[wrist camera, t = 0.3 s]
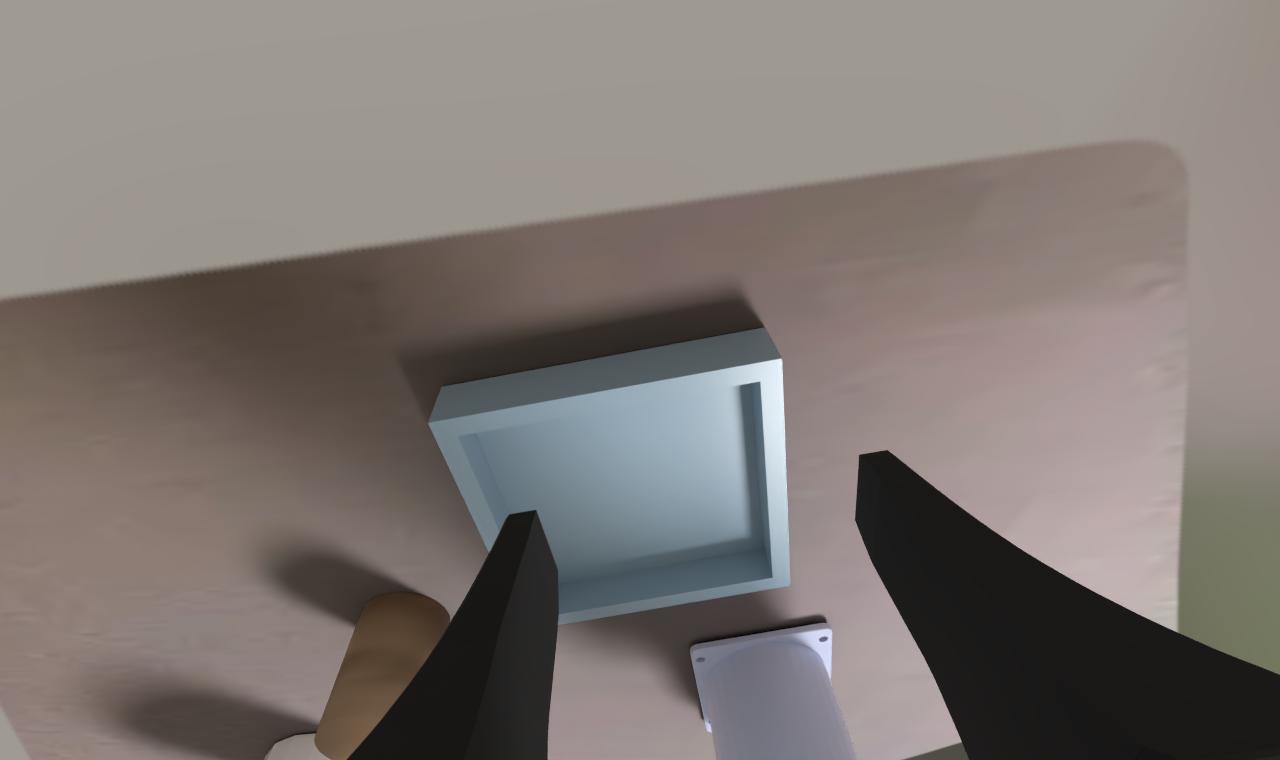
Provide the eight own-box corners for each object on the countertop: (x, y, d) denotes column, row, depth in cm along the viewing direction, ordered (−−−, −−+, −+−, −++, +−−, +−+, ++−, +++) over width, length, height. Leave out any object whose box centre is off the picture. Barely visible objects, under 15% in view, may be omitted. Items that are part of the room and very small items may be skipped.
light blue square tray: (776, 546, 29) (790, 585, 27) (529, 589, 29) (525, 631, 27) (765, 327, 22) (781, 358, 20) (441, 386, 22) (427, 422, 20)
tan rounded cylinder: (461, 636, 31) (437, 759, 26) (382, 650, 31) (342, 774, 26) (432, 585, 29) (399, 709, 24) (345, 600, 29) (294, 726, 24)
